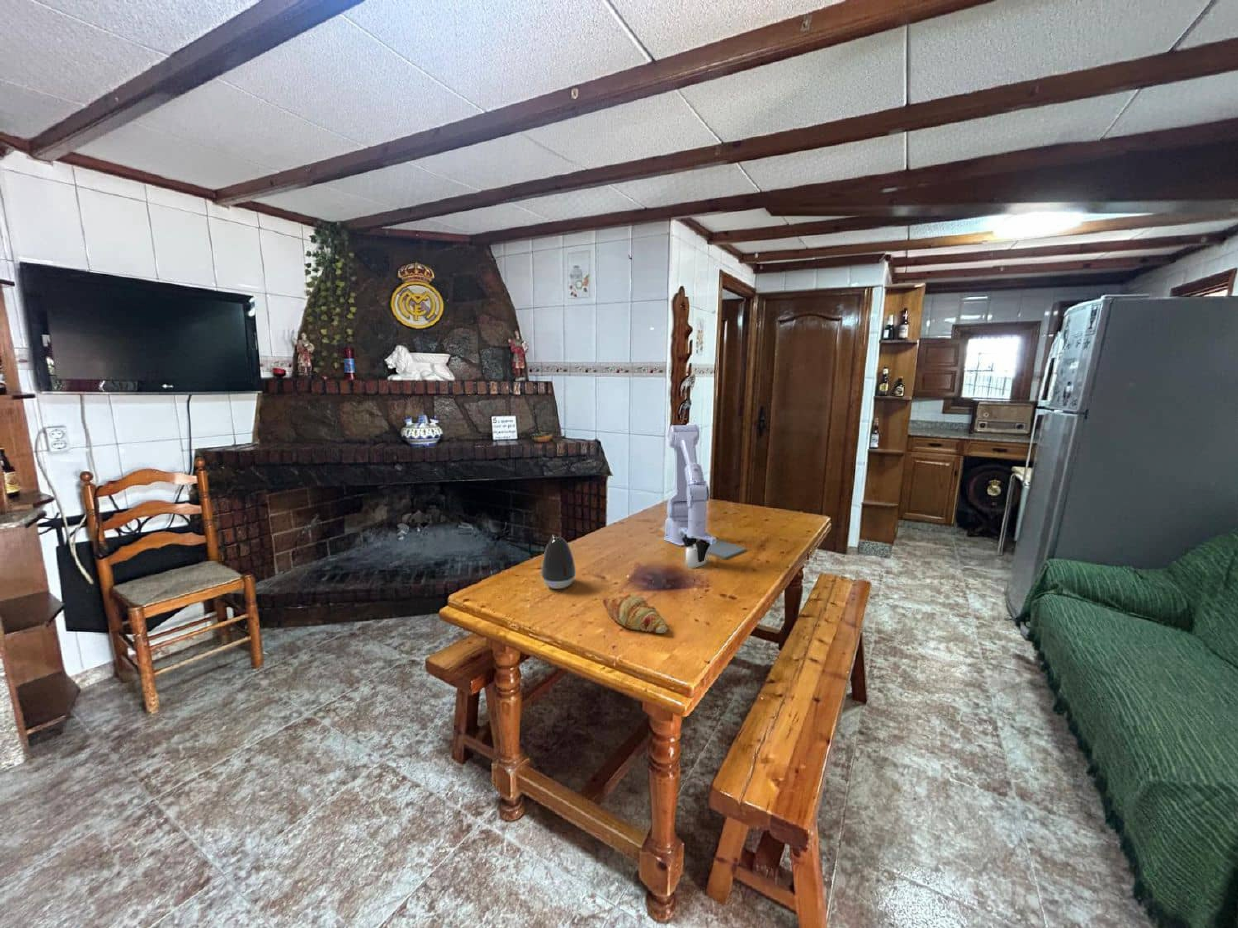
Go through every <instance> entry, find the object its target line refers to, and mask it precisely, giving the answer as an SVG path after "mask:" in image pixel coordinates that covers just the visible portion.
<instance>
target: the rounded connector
mask: <svg viewBox="0 0 1238 928" xmlns="http://www.w3.org/2000/svg"><path fill="white" fill-rule="evenodd" d="M707 554H708V553H707V552H706V555H705V558H704V561H702V562H698V550H697V546H696V543H695V544H693V545H692V546H689V547H687V548H686V547H685V567H686V568H688V569H695V568H697V567H700V566H703V565H705V564H707V561H708V555H707Z"/></svg>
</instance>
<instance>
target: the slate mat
mask: <svg viewBox="0 0 1238 928" xmlns="http://www.w3.org/2000/svg"><path fill="white" fill-rule="evenodd" d="M746 551H747V548H746V547H743V546H739V545H737V544H736V545H735V544H734V543H733V544H732V543H730V542H728V541H724V540H720V539H718V540H717V539H716V544H713V545H711V544H710V546H709V548H708V550H707V554H709V555H711V556H714V557H716V558H719V559H721V560H727V559H730V558H733V557H735V556H737V555H740V554H741V553H743V552H746Z"/></svg>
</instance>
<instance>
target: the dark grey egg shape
mask: <svg viewBox="0 0 1238 928" xmlns="http://www.w3.org/2000/svg"><path fill="white" fill-rule="evenodd" d="M545 547H546V548H545V551H544V555H543V557H542V558H543V559H542V563H541V577H542V578H543V581H544V583H545V585H546V586H547V587H549V588H551V589H556V590H561V589H565V588H567V587H569V586H570V585H572V583H573V581H574V580H575V576H576V573H577V571H576V570H577V569H576V564H575V559H574V557H573V553H572V550H571V547H570V546H569V544H568V542H567V541H566V540H565V538H562V537H561V536H556V535H555V534H552V535H551V539H550V540H549V542H548V544H547V545H546V546H545Z"/></svg>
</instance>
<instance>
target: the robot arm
mask: <svg viewBox="0 0 1238 928" xmlns="http://www.w3.org/2000/svg"><path fill="white" fill-rule="evenodd" d="M699 439H700V428H699V426H698V425H697V424H685V425H684V424H683V425H681V424H680V425H679V424H677V425H673V424H672V425H670V427H669V429H668V444H669V448H672V449H673V450H674V451H673V452H674V492H673V493H672V494H670V495H669V496H668V497H667V504H666V513H667V518H666V520H665V522H664V538H663V541H666V542H669V543H672V544H674V545H677V546H679V547H684V546H685V549H686V548H687V547H689V546H692V545H693V544H695V543H696V546H697V550H698V562H702V561H704V558H705V555H706V552H707V550H708V548H709V546H710V544H711V545H713V544H716V541H717V537H714V536H712V535H711V534H709V533H708V532H707V502H709V500H710V488H709V485H708V483H707V481H706V480H705V477H704V474H703V469H702V466H701V464H699V463H698V459H697V449H696V446H697V445H698V443H699ZM697 540H699V541H697Z"/></svg>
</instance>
